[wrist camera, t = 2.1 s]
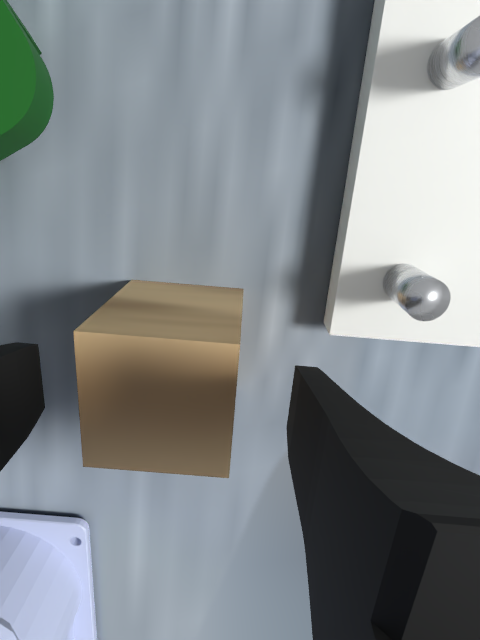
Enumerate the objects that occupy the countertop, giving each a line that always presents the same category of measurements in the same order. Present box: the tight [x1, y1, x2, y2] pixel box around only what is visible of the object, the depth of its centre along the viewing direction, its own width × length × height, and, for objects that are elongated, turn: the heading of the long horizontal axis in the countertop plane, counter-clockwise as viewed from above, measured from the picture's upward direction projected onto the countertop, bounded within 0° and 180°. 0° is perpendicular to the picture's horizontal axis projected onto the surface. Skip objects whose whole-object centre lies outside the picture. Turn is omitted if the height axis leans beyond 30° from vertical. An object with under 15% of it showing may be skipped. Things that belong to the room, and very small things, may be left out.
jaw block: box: [73, 280, 243, 478], centre depth 13 cm, size 4×4×5 cm
